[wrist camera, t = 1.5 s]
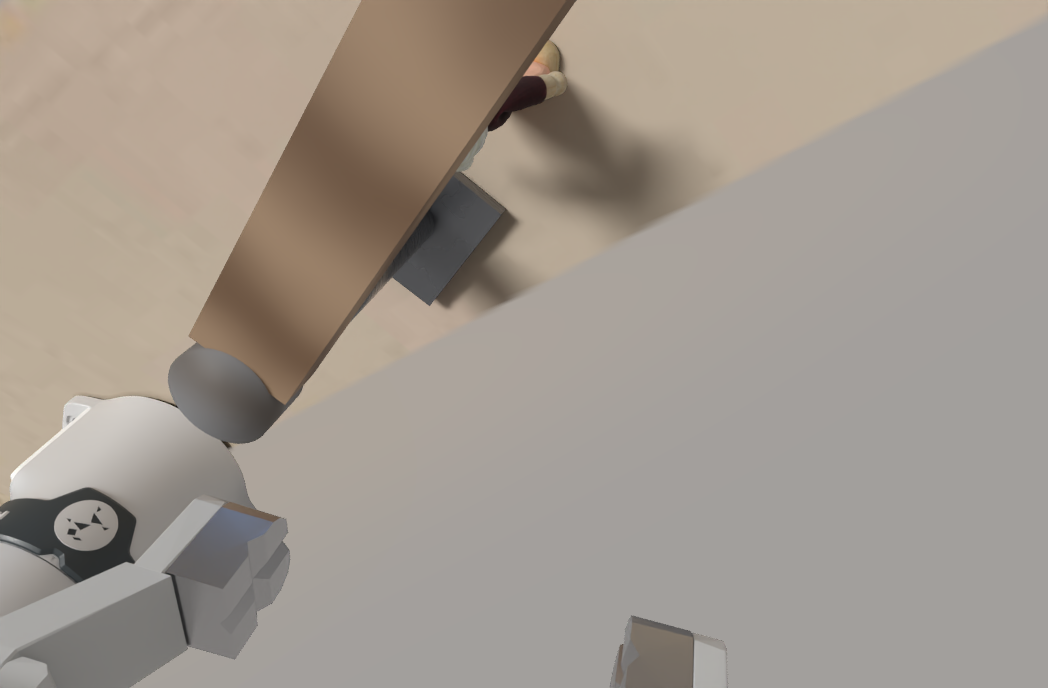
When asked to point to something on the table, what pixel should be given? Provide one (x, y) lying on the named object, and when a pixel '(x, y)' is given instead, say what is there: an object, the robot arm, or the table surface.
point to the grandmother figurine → (526, 93)
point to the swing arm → (350, 196)
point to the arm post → (442, 240)
